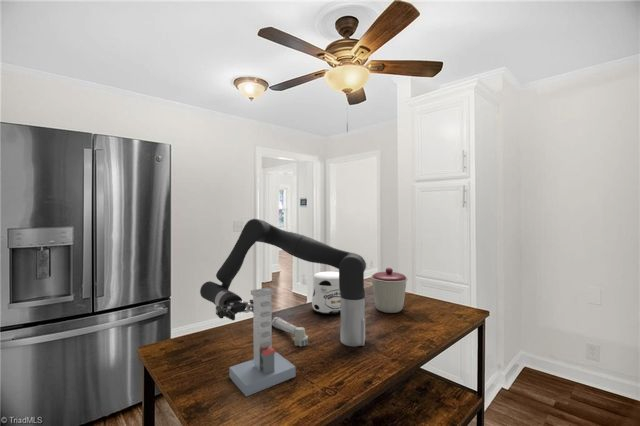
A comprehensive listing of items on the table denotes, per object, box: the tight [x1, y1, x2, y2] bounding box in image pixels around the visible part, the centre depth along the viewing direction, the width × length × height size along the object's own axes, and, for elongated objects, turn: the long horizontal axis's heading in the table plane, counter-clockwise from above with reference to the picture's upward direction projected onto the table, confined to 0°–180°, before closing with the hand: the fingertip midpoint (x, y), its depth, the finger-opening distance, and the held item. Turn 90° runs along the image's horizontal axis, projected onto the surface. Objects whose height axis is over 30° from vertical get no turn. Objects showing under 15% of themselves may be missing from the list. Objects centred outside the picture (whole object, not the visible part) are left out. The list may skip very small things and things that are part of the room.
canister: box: [370, 267, 409, 314], centre depth 152 cm, size 18×18×21 cm
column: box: [250, 287, 275, 372], centre depth 91 cm, size 6×5×23 cm
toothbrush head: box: [272, 316, 309, 347], centre depth 122 cm, size 5×7×25 cm
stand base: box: [228, 347, 297, 397], centre depth 92 cm, size 16×12×10 cm
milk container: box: [311, 271, 340, 315], centre depth 150 cm, size 17×17×18 cm
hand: (246, 314), depth 100 cm, fingers open, 8 cm apart
